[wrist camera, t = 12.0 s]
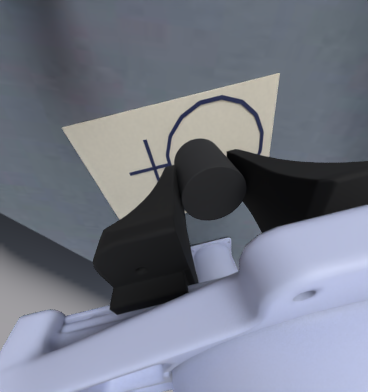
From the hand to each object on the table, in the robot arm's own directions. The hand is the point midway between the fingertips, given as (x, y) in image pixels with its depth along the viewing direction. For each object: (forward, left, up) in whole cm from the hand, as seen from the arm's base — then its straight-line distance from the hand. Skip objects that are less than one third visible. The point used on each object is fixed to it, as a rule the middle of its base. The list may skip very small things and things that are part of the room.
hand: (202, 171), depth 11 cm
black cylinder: (0, 0, -1) cm, 1 cm away
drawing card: (-4, +1, -9) cm, 10 cm away
